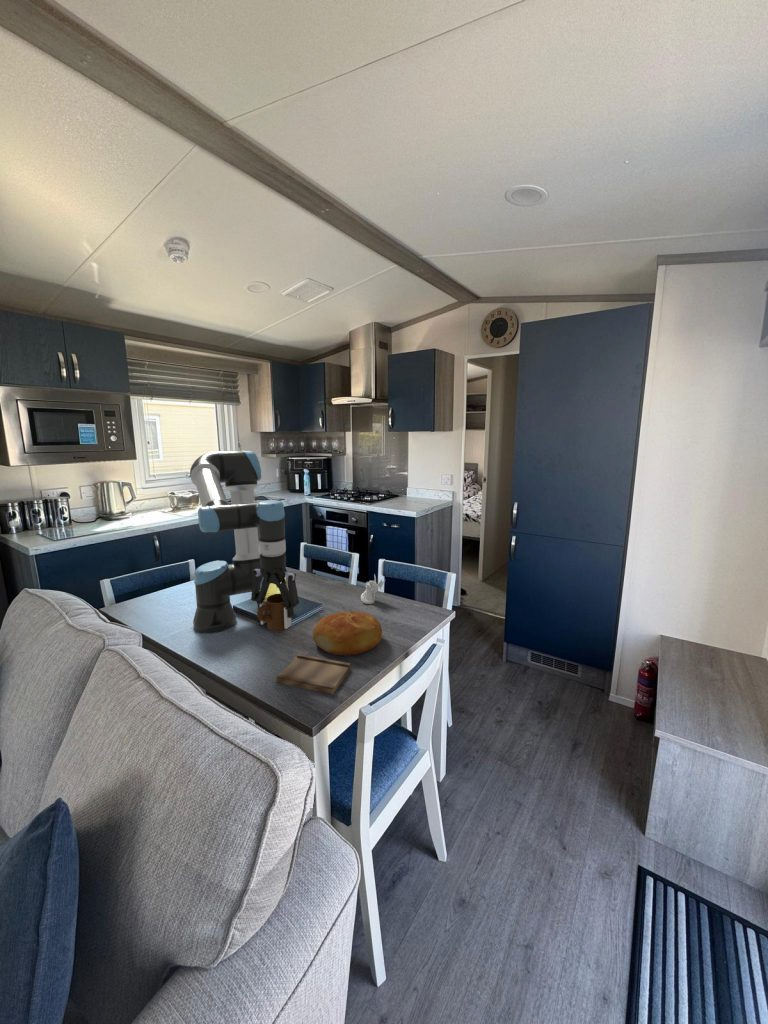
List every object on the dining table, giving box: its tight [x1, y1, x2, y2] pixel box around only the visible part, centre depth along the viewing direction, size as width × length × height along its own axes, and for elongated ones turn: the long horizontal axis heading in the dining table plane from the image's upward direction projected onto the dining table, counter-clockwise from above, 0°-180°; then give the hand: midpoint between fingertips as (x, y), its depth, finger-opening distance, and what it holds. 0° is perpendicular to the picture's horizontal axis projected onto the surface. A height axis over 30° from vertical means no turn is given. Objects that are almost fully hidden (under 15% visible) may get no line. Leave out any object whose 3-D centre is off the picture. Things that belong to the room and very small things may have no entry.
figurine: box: [360, 573, 386, 605], centre depth 181 cm, size 11×8×12 cm
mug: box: [256, 593, 293, 632], centre depth 130 cm, size 12×8×9 cm, turn 145°
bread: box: [312, 610, 383, 656], centre depth 148 cm, size 23×23×10 cm
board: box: [275, 653, 351, 695], centre depth 128 cm, size 18×13×2 cm
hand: (276, 624), depth 131 cm, fingers closed on mug, 8 cm apart
